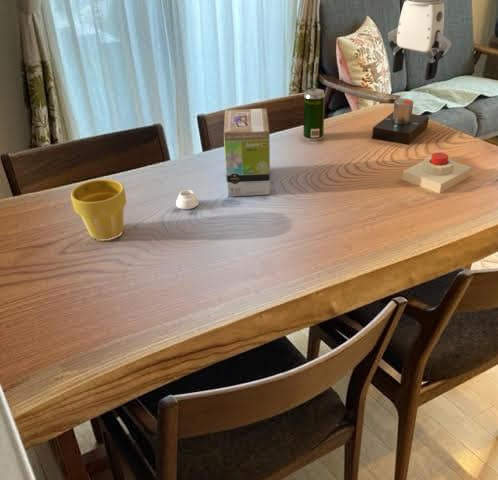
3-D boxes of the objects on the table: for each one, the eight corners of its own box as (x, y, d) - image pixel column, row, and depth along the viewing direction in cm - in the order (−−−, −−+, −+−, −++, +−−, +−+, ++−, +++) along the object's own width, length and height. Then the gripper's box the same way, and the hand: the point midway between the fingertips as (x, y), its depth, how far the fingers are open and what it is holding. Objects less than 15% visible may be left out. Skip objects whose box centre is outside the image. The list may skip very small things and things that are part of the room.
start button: (436, 158, 123) (437, 151, 122) (450, 163, 121) (451, 155, 120) (427, 163, 121) (428, 155, 120) (441, 167, 119) (442, 160, 118)
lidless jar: (176, 201, 121) (176, 211, 117) (175, 188, 119) (174, 199, 115) (199, 199, 121) (199, 209, 117) (197, 187, 119) (197, 197, 116)
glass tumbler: (389, 122, 143) (391, 101, 140) (396, 117, 146) (399, 96, 143) (406, 126, 141) (409, 104, 138) (413, 120, 144) (416, 99, 140)
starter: (432, 164, 129) (435, 147, 127) (470, 176, 123) (474, 159, 121) (401, 180, 124) (404, 163, 121) (439, 193, 118) (442, 176, 115)
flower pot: (142, 231, 111) (134, 187, 105) (100, 252, 106) (88, 207, 100) (114, 216, 117) (104, 173, 111) (72, 235, 112) (59, 191, 105)
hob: (392, 121, 152) (394, 110, 150) (427, 127, 148) (429, 115, 146) (371, 138, 144) (373, 126, 142) (407, 145, 139) (409, 133, 137)
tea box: (271, 195, 121) (270, 129, 112) (227, 197, 121) (221, 132, 112) (268, 167, 133) (266, 106, 123) (228, 169, 133) (223, 108, 123)
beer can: (326, 139, 144) (328, 93, 137) (307, 142, 144) (307, 96, 136) (319, 132, 148) (320, 87, 141) (300, 135, 148) (301, 89, 140)
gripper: (468, -5, 118) (452, 78, 128) (403, -12, 128) (394, 65, 139) (447, 1, 114) (433, 85, 125) (383, -7, 125) (375, 72, 136)
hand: (413, 75), depth 132 cm, fingers open, 9 cm apart
